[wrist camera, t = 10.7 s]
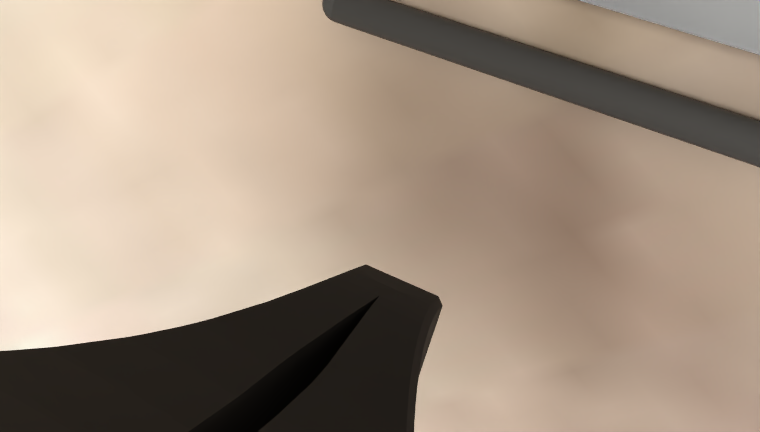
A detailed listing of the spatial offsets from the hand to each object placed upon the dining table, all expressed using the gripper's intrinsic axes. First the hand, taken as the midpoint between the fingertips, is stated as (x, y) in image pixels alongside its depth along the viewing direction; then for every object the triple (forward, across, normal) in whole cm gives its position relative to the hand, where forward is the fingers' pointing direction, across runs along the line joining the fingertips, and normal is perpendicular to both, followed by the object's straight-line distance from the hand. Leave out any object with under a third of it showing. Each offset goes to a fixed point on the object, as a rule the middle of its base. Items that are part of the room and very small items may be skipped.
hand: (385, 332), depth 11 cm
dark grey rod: (+10, -4, -2) cm, 11 cm away
